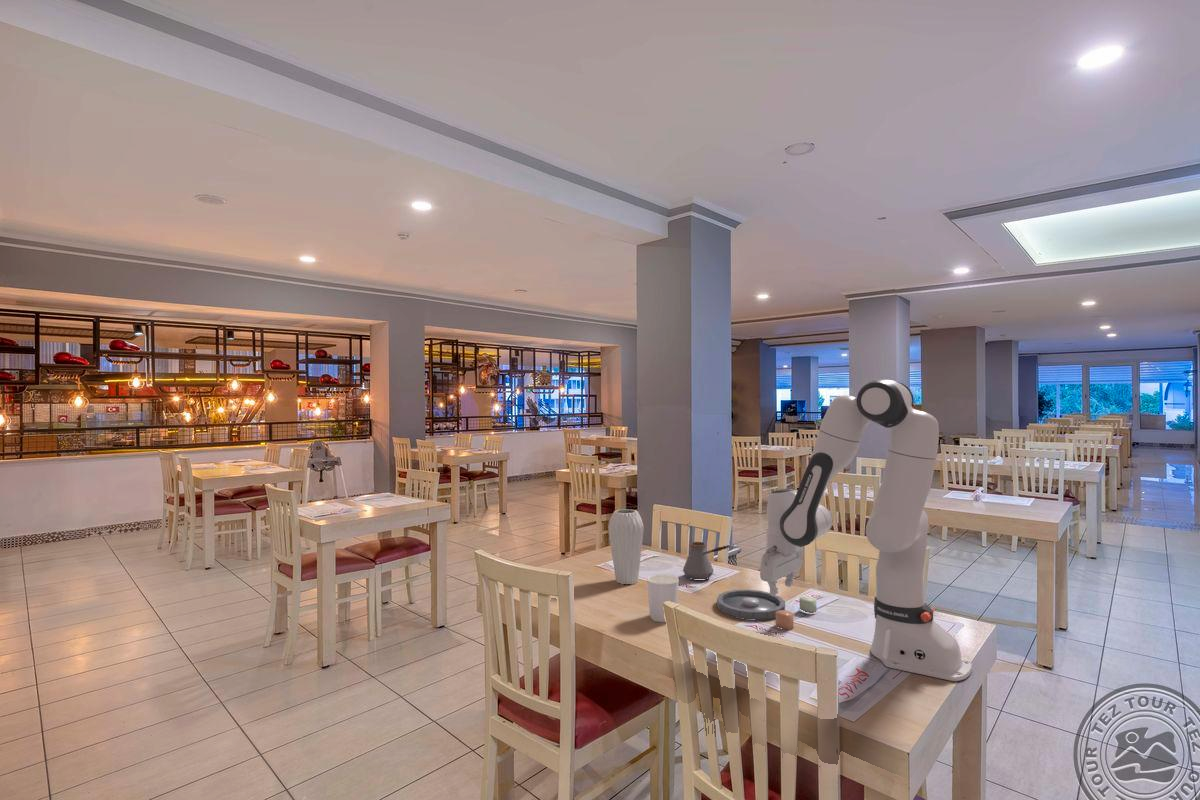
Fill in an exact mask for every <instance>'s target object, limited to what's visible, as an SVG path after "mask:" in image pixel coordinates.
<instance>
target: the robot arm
mask: <svg viewBox="0 0 1200 800" xmlns="http://www.w3.org/2000/svg"><path fill="white" fill-rule="evenodd" d="M830 402H831V403H830V405H829V406H828V408H827V410H826V412H825V414H824V416H823V419H822V421H821V424H820V426H819V429H818V432H817V436H816V439H815V443H814V446H813V449H812V453H811V455H810V458H809V461H808V463H807V466H806V469H805V471H804V473H803V476H802V478H801V481H800V484H799V487H798V490H796V489H793V488H781V489H776V490H775V489H774V490H772V491H771V492H770V493H769V495H768V497H767V502H766V503H767V504H766V505H767V506H766V521H767V529H766V543H765V544H766V545H765V546H766V550H765V552H764V554H762V556H761V558H760V559H761V560H760V569H759V570H760V571H759V577H760V580H761V581H763V582H767V584H768V587H769V593H771V594H773V595H777V594H779V587H777V584H778V583H777V582H778V580H780V579H782V578H784V577H785V576H786V578H785V580H784V586H785V587H788V588H791V587H792V586H793V585H794V578H795V575H796V571H798V570H800V569H802V566H803V561H804V548H803V547H805V546H808V545H810V544H811V543H813V542H814V541H815V540H817V539H819V538H820V537H823V536H824V535H826V534H827V533H828V532H829V531H831V529H832V526H833V516H832V513H831V511H830V510H829V509H828V508H827V507H826V506H825V505H823V504H821V502H822V499H823V497H824V494H825V491H826V488H827V486H828V484H829V483H830V481H832V480H833V478H834V477H835V476H836V475H837V474H838V473H839V472H841V471H842V470H844V469H845V468H847V467H848V466H849V465H850V464H851V463H852V461H853V459H854V458H855V456H856V454H857V453H858V450H859V447H860V446H861V442H862V439H863V436H864V433H865V430H866V429H867V427H868V425H869V424H870V423H873V422H874V423H876V424H878V425H880V426H882V427H883V428H886V429H889V431H890V432H889V433H890V434H889V435H890V436H889V444H888V447H887V453H886V459H885V464H884V469H883V473H882V474H883V475H882V479H881V482H880V486H879V489H878V491H877V494H876V497H875V499H874V503H873V506H872V509H871V513H870V515H869V518H868V521H867V523H866V524H865V525H866V526H865V536H866V538H867V540H868V542H869V543H870V544H871V545H872V546H873V547H874V548H875V549H876V550H878V551H879V553H878V557H877V558H878V559H877V561H876V565H875V596H874V602H873V612H874V619H875V623H874V634H873V639H872V643H871V646H870V649H869V650H870V653H871V654H872V655H873V656H874V657H876V658H877V659H878V660H879V661H881V662H882V663H883V665H884V666H885V667H886V668H890V669H895V670H900V671H904V672H909V673H912V674H913V673H914V674H919V675H923V676H928V677H933V678H936V679H941V680H947V681H951V682H959V681H963V680H966V679H967V678H968V677H969V676H970V675H971V674H972V672H973V671H972V670H973V666H972V665H973V664H972V662H971V661H970V660H969V658H967V657H965V656H962V653H961V648H960V646H959V645H960V644H959V643H958V641H957V638H956V637H955V636H953V635H952V634H951V633H950V632H948V631H947V630H946V629H945V628H943V627H942V626H941V625H940V624H939V623H938V622H936V621H935V620H934V612H935V606H931V607H930V606H929V605H928V604H926V603H925V585H924V583H925V582H924V579H925V578H924V575H925V574H924V572H925V571H924V570H925V562H926V555H927V545H928V531H929V530H928V529H929V522H930V521H929V516H928V514H927V512H926V511H925V510H924V507H925V504H926V500H927V498H928V495H929V493H930V492H931V488H932V482H933V478H934V472H935V468H936V463H937V457H938V453H939V452H938V451H939V440H940V438H939V437H940V430H939V429H940V428H939V427H940V426H939V422H938V419H937V418H936V417H934V416H933V415H932V414H930V413H929V412H925V411H922V410H919V409H915V408H914V402H915V398H914V394H913V392H912V390H911V389H910V388H909V387H908V386H907V385H905V384H904V383H903V382H899V381H895V380H892V379H877V380H872V381H869V382H867V383H866V384H864V385H862V387H861V388H860V389H859V391H858V393H857V396H852V395H839V396H836V397H835V398H833V400H832V401H830Z"/></svg>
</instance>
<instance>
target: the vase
mask: <svg viewBox="0 0 1200 800" xmlns="http://www.w3.org/2000/svg"><path fill="white" fill-rule="evenodd" d="M607 529H608V535H609V542H610V550H611V554H612V555H611V556H612V563H613V571H614V577H615V582H616V581H617V582H618V583H621V584H622V585H623V584H631V585H635V584H634V583H636V582H637V583H639V576H640V575H639V573H640V565H641V556H642V555H641V554H642V548H643V547H642V546H643V539H644V538H643V536H644V523H643V519H642V517H641V514H640V512H639V511H638V510H635V509H626V508H624V509H617V510H614V511H613V513H612V514H611V516H610V518H609V522H608V526H607ZM617 582H616V583H617ZM618 583H617V584H618ZM637 583H636V584H637ZM621 584H620V585H621Z"/></svg>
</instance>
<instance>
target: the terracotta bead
mask: <svg viewBox="0 0 1200 800" xmlns="http://www.w3.org/2000/svg"><path fill="white" fill-rule="evenodd" d="M775 613H776V618H775V627H776V626H777V627H779V628H782V629H786V630H785V631H789V630H788V629H791V630H793V629H794V626H795V625H794V613H793V612H792V611H789V610H786V609H785V610H779V611H776V612H775ZM777 627H776V628H777ZM779 628H778V629H779ZM782 629H781V630H782Z"/></svg>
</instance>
